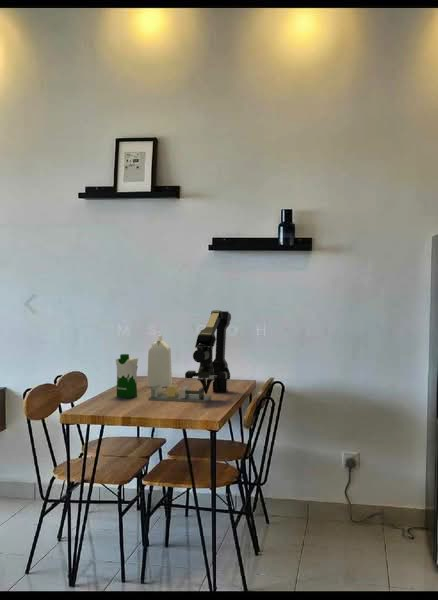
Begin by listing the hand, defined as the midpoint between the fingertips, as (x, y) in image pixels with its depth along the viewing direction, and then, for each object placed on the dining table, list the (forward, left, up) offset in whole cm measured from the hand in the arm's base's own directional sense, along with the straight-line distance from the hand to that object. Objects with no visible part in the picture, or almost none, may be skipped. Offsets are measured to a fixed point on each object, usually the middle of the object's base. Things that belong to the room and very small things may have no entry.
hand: (206, 393), depth 283 cm
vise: (+12, 0, -3) cm, 13 cm away
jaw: (+6, 0, -2) cm, 6 cm away
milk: (+31, -34, -3) cm, 46 cm away
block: (+16, 0, -2) cm, 16 cm away
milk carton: (+38, 0, -3) cm, 38 cm away
